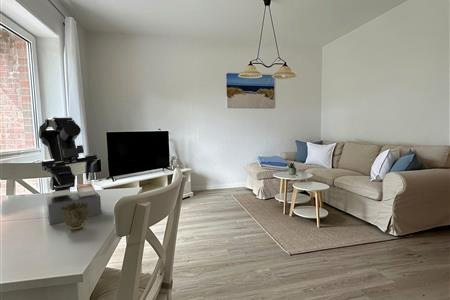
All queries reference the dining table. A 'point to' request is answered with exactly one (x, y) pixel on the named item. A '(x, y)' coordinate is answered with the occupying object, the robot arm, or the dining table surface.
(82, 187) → the block
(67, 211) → the cup
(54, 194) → the block
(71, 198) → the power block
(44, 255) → the dining table surface
